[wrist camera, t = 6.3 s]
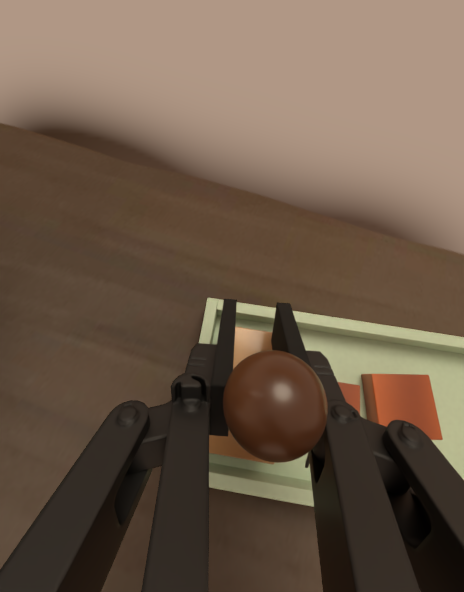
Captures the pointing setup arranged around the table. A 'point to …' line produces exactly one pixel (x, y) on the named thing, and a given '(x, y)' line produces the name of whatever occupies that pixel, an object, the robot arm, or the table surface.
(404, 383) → the orange square block
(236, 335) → the wooden handle stamp
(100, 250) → the table surface
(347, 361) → the tray
